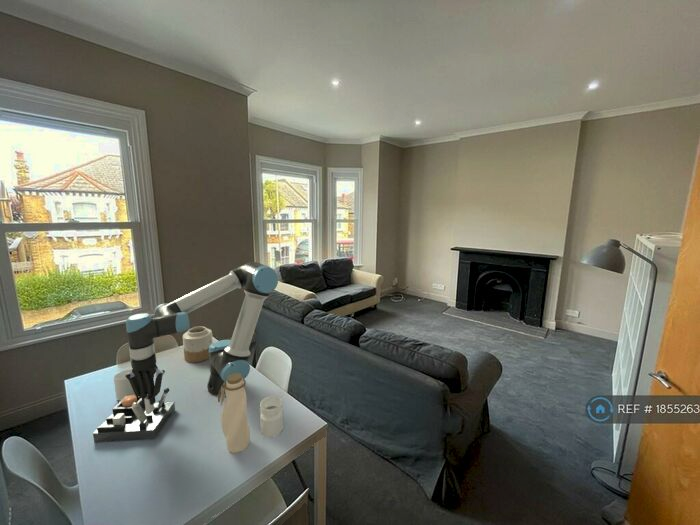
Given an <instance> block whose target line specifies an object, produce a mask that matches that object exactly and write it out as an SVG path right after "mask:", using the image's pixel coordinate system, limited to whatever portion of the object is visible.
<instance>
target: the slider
mask: <svg viewBox="0 0 700 525" xmlns="http://www.w3.org/2000/svg"><path fill="white" fill-rule="evenodd" d="M124 423H125V414H124V413H118V414H117V415H116V416H115V417H114V418H113V425H124Z"/></svg>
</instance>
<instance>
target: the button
mask: <svg viewBox="0 0 700 525" xmlns="http://www.w3.org/2000/svg"><path fill="white" fill-rule="evenodd" d="M133 403H137V397H136V395H131V396H127V397H125V398H124V399H123V400H122V406H123V407H131V406H132V404H133Z"/></svg>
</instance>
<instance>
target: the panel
mask: <svg viewBox="0 0 700 525" xmlns="http://www.w3.org/2000/svg"><path fill="white" fill-rule="evenodd" d="M125 397H127V396H125ZM125 397H124V398H125ZM124 398H123V399H124ZM123 399H122V400H123ZM122 400H121V401H120V400H119V401H118V403H117V404H116V405H115V406H114V407H113V408H112V414H110V416H108V417H106V419H105V421H104V422H103V423H101V425H99V426H97V427H96V430H94V431H93V433H92V435H93V442H94V444H95V443H110V442H111V443H112V442H113V443H116V442H126V441H145V440H147V441H148V440H155V439H156V438H157V436H158V435H159V434H160V432H161V431H162V429H163V428H164V426H165V425H166V424H167V423H168V421H169V420H170V418H171V417H172V415H173V414H174V412H175V411H176V405H175V401H170V402H169V401H168V402H165V401H164V403H163V404H162V405H161V407H160V408H159V407H157V406H158V404H159V402H160V399H159V400H157V401H158V402H155V403H154V410H153V411H152V412H151V414H146V408H145V405H143V401H142V398H141V397H137V403H139V404H140V406H141V407H142V409H143V411H144V412H145V414H146V416H147V417H148V418H147V419H146V420H145V422H144V423H140V421H139V420H138V418H137V417H136V415H135V413H134V412H133V410H132V406H131V407H123V406H122ZM118 413H124V414H125V423H124V425H113V418H114V417H115V416H116V415H117V414H118Z"/></svg>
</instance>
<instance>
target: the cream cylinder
mask: <svg viewBox="0 0 700 525" xmlns="http://www.w3.org/2000/svg"><path fill="white" fill-rule="evenodd" d="M259 404H260V405H259V412H260V414H259V415H260V416H259V417H260V422H259V423H260V425H259V426H260V434H261V435H262V436H263V437H266V438H273V436H274V437H276V436H279V434H281V432H282V431H283V426H284V424H283V423H284V422H283V421H284V416H283V399H282V398H281V397H280V396H278V395H269V396H267V397H264V398H263V399H261V401H260V402H259Z"/></svg>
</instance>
